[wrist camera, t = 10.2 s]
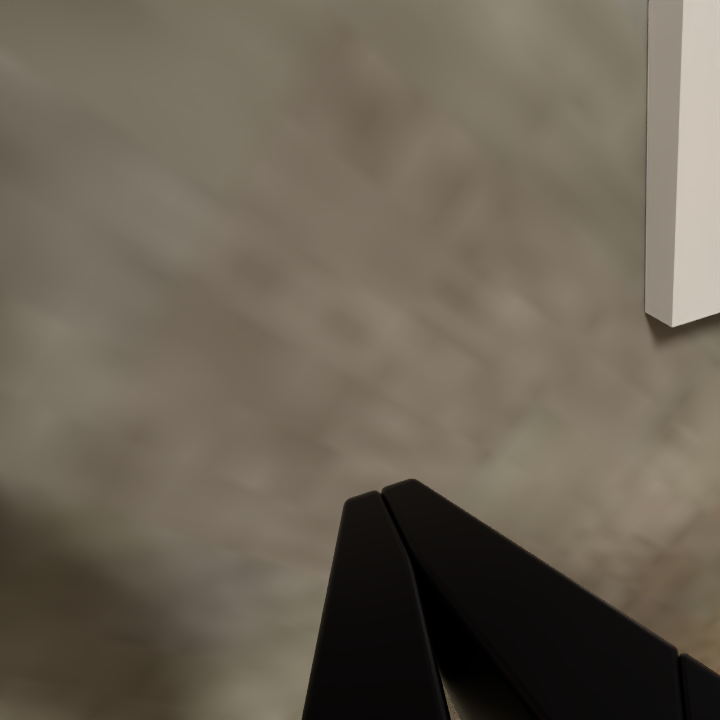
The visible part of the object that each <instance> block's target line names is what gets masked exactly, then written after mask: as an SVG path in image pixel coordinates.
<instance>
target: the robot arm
mask: <svg viewBox="0 0 720 720" xmlns="http://www.w3.org/2000/svg"><path fill="white" fill-rule="evenodd" d="M441 679H442V680H441ZM442 681H443V683H444V686H445V688H446V690H447V692H448V694H449V696H450V698H451V701H452V703H453V705H454V707H455V709H456V711H457V713H458V715H459V717H460V719H461V720H720V675H719V674H717V673H716V672H714V671H712V670H711V669H709V668H708V667H706V666H705V665H703V664H702V663H700V662H699V661H697V660H696V659H694V658H692V657H691V656H689V655H688V654H685V653H683V654H681V655H680V656H679V655H678V650H677V648H676V647H675V646H673V645H672V644H670V643H669V642H667V641H666V640H664V639H662V638H661V637H659V636H658V635H656V634H655V633H653V632H652V631H650V630H649V629H647V628H645V627H644V626H642V625H641V624H639V623H638V622H636V621H635V620H633V619H632V618H630V617H628V616H627V615H625V614H624V613H622V612H621V611H619V610H618V609H616V608H615V607H613V606H611V605H610V604H608V603H607V602H605V601H604V600H602V599H601V598H599V597H597V596H596V595H594V594H593V593H591V592H590V591H588V590H587V589H585V588H584V587H582V586H580V585H579V584H577V583H576V582H574V581H573V580H571V579H570V578H568V577H567V576H565V575H563V574H562V573H560V572H559V571H557V570H556V569H554V568H553V567H551V566H550V565H548V564H546V563H545V562H543V561H542V560H540V559H539V558H537V557H536V556H534V555H533V554H531V553H529V552H528V551H526V550H525V549H523V548H522V547H520V546H519V545H517V544H515V543H514V542H512V541H511V540H509V539H508V538H506V537H505V536H503V535H502V534H500V533H498V532H497V531H495V530H494V529H492V528H491V527H489V526H488V525H486V524H485V523H483V522H481V521H480V520H478V519H477V518H475V517H474V516H472V515H471V514H469V513H468V512H466V511H464V510H463V509H461V508H460V507H458V506H457V505H455V504H454V503H452V502H450V501H449V500H447V499H446V498H444V497H443V496H441V495H440V494H438V493H437V492H435V491H433V490H432V489H430V488H429V487H427V486H426V485H424V484H423V483H421V482H420V481H418V480H416V479H407V480H404V481H401V482H398V483H395V484H392V485H389V486H386V487H384V488H383V489H382V492H381V494H380V493H379V492H378V491H370V492H367V493H364V494H361V495H358V496H355V497H352V498H349V499H347V500H346V502H345V504H344V507H343V512H342V517H341V522H340V527H339V532H338V537H337V542H336V547H335V552H334V557H333V562H332V567H331V573H330V578H329V583H328V588H327V593H326V598H325V603H324V608H323V613H322V618H321V623H320V628H319V634H318V639H317V644H316V649H315V654H314V659H313V664H312V669H311V674H310V679H309V684H308V689H307V695H306V700H305V705H304V710H303V715H302V720H451V718H450V714H449V710H448V706H447V701H446V697H445V693H444V689H443V684H442Z"/></svg>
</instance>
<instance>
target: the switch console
mask: <svg viewBox="0 0 720 720" xmlns="http://www.w3.org/2000/svg"><path fill="white" fill-rule="evenodd" d="M645 312H646V313H648V314H649V315H651V316H653V317H655V318H656V319H658V320H660V321H662V322H663V323H665V324H667V325H668V326H670V327H675V326H678V325H682V324H685V323H688V322H691V321H694V320H698V319H701V318H704V317H707V316H710V315H714V314H717V313H720V0H649V1H648V87H647V174H646V260H645Z"/></svg>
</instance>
